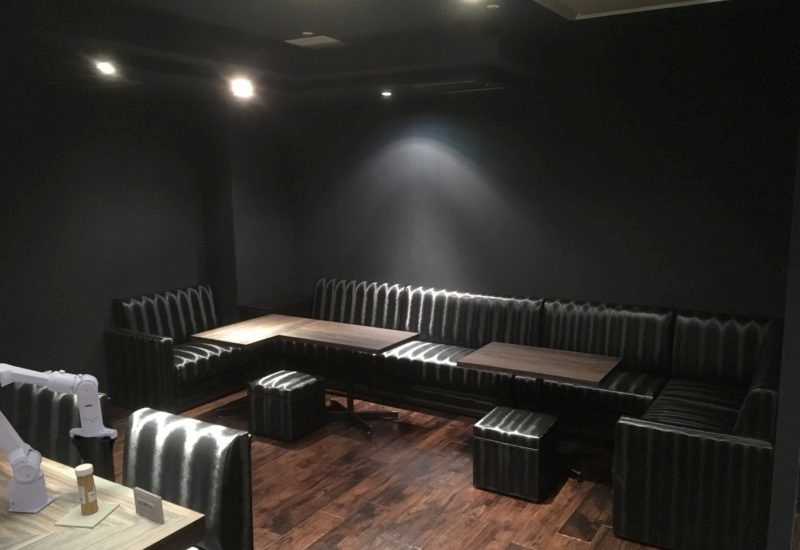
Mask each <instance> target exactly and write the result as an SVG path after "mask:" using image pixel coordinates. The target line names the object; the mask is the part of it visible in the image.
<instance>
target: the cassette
mask: <svg viewBox="0 0 800 550" xmlns="http://www.w3.org/2000/svg"><path fill="white" fill-rule="evenodd" d="M132 490H133V499H134V507H135V512H136V514H138V515H139V516H140V515H141V516H140V517H142V516H143V518H145V519H147V520H149V519H150V520H149V521H151V520H152V522H153V521H154V522H153V523H155V524H156V523H157V522H158V523H159V524H161V525H162V524H164V523H165V516H164V515H165V514H164V509H163V508H164V507H163V501H162V496H160V495H157V494H155V493H153V492H150V491H147V490H145V489H144V488H141V487H139V486H135V487H133V488H132Z"/></svg>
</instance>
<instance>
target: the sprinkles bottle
mask: <svg viewBox="0 0 800 550" xmlns="http://www.w3.org/2000/svg"><path fill="white" fill-rule="evenodd" d="M74 474H75V477H76V482H77V491H78V492H77V493H78V497H79V504H81V509H82V510H81V513H82V514H84V515H88V514H92V513H94V512H96V511H97V510H98V509H99V508H98V504H97V503H98V499H97V489H96V485H95V478H94V466H93V464H91V463H83V464H79V465H77V466H76V467H75V468H74Z"/></svg>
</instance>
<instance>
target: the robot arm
mask: <svg viewBox="0 0 800 550" xmlns="http://www.w3.org/2000/svg"><path fill="white" fill-rule="evenodd" d="M12 383H21V384H22V383H24V384H31V385H37V386H45V387H46V388H47V389H48V391H50V392H54V393H59V394H60V393H61V394H67V395H72V396H74V395H76V397H77V399H78V411H79V417H80V425H81V427H77V428H76V427H73V428H72V429H70V430H69V437H70V438H72V439H71V440H70V442H71V444H73V446H74V447H75V448H76V450H77V452H78V453H79V456H80V457H81V459H82V461H86V460H87V459H89V457H90V450H89V449H90V448H89V440H90V439H89V438H91V437H92V438H93V437H95V438H102V439H101V440H99V441H98V443H99V445H100V447H101V450H102V453H103V459H104V461H105V462H109V461H110V460H111V459H112V457H113V449H114V446H115V443H116V440H117V437H118V430H117V429H113V428H109V427H106V426H105V425H104V421H103V415H102V406H101V401H100V394H99V388H98V387H99V382H98V379H97V377H95V376H93V375H91V374H88V373H87V374H82V373H79V374H72V373H68V372H66V370H63V369H60V370H59V371H57V370H55V371H53V372H50V373H45V372H40V371H36V370H31V369H27V368H23V367H19V366H14V365H11V364H7V363H0V386H1V387H2V388H3V387H5V386H7V385H9V384H12ZM0 448H1V450H2V451H3V452H4V453H5V455H6V456H7V459H8V464H9V467H11V469H12V475H13V477H12V478H11V479H10V480H9V482H8V483H7V488H6V490H7V496H8V503H9V508H8V509H7V511H8V512H14V513H15V512H17V513H27V514H28V513H29V514H37V513H38V512H39V511H41V510H42V509H44V508H45V507H46V506H48V505H49V504H51V503H52V502H53V501H55V500H56V498H55V497H48V493H47V491H48V490H47V486H46V480H45V473H44V471H43V470H42V469H41V468H40V467H41V464H42V461H43V457H42V454H41V453H40V451H38V450H35V449H34V448H33V447H31V446H30V445H29V444H28V443H26V442H25V441H23V439H22V438H21V437H20V435H19V434H18V432H17V431H16V430H15V429H14V427H13V426H12V424H11V423H10V422H9V420H8V419H7V417H6V416H5V415H4V414H3V413H2V411H1V410H0Z"/></svg>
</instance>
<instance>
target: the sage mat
mask: <svg viewBox="0 0 800 550" xmlns="http://www.w3.org/2000/svg"><path fill="white" fill-rule="evenodd" d="M97 504H98V508H99V509H98V510H97V511H96V512H94V513H92V514H88V515H84V514H82V513H81V510H82V509H81V503H79V504H78V505H77V506H75V507H74V508H72V510H71V511H69V512H68V513H66V514H65V515H64V516H63V517H62V518H60V519H59V520H58V521H56V522H55V523H54V526H55V527H66V528H81V529H82V528H83V529H92V530H93V529H94V528H95V527H97V526H98V525H99V524H100V523H101V522H103V521H104V520H105V519H106V518H107V517H109V516H110V515H111V514H112V513H114V511H116V510H117V509H118V508H119V507H121V504H120V503H111V502H110V503H109V502H97Z"/></svg>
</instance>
